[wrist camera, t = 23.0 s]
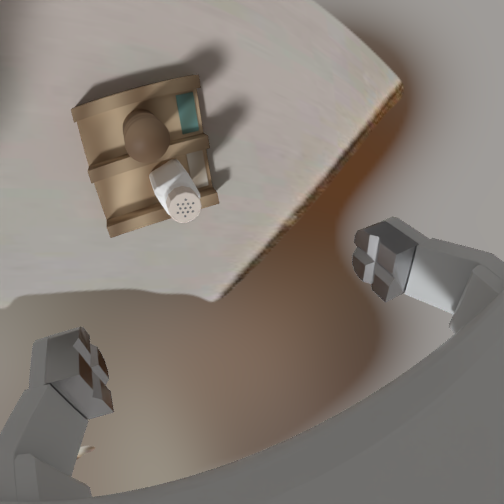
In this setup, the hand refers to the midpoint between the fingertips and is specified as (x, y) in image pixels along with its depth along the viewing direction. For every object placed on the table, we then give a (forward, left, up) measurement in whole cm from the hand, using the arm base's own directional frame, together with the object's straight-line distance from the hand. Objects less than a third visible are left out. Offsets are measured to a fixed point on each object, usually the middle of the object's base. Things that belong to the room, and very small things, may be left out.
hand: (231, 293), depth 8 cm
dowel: (0, 0, -30) cm, 30 cm away
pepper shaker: (+2, -7, -30) cm, 31 cm away
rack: (0, -4, -31) cm, 31 cm away
